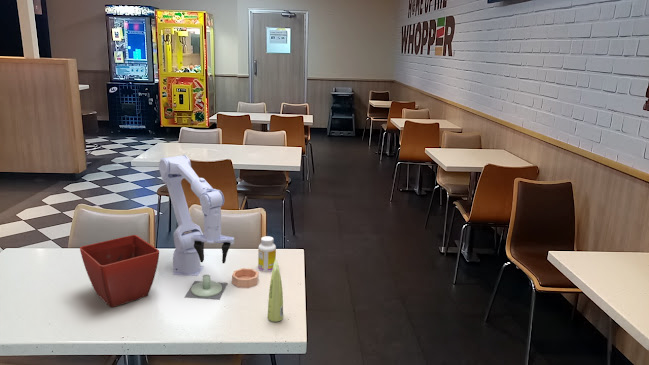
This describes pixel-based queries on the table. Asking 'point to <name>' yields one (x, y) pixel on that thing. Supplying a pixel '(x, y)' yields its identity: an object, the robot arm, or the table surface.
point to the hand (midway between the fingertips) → (213, 261)
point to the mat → (216, 297)
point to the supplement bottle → (266, 254)
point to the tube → (275, 295)
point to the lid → (206, 288)
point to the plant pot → (121, 268)
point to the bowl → (245, 278)
